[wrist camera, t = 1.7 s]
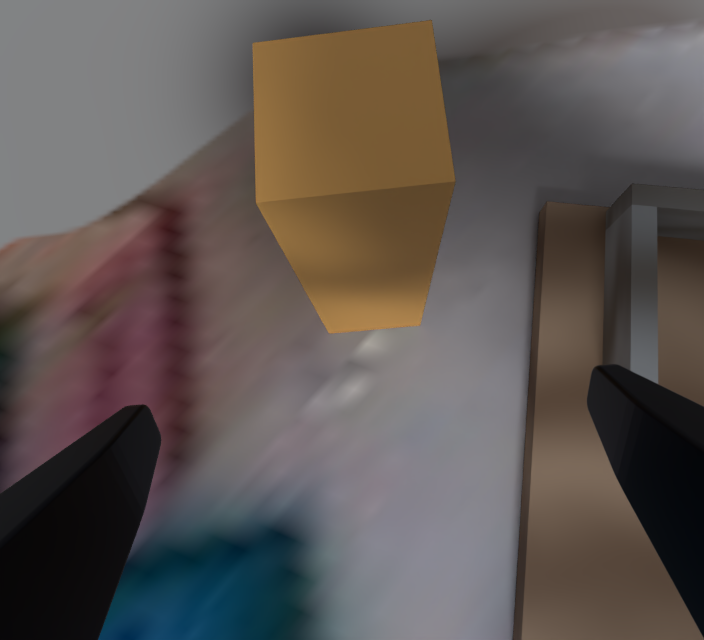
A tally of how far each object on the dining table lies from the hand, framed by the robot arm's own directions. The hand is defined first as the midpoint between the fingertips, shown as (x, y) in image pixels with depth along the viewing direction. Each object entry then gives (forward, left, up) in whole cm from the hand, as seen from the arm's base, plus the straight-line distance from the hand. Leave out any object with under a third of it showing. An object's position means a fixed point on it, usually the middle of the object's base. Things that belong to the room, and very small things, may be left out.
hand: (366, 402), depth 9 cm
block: (+7, +1, -13) cm, 15 cm away
